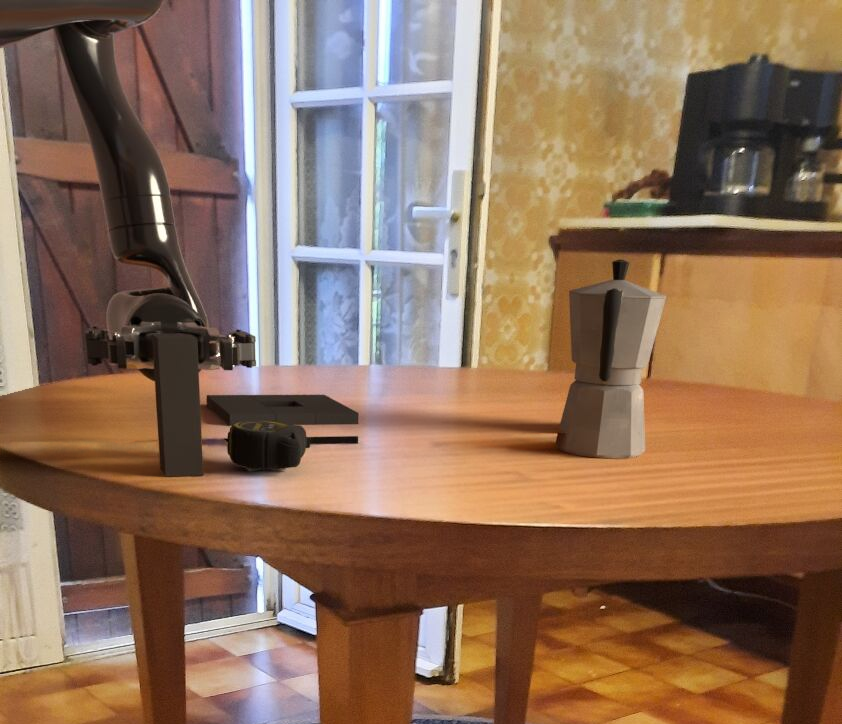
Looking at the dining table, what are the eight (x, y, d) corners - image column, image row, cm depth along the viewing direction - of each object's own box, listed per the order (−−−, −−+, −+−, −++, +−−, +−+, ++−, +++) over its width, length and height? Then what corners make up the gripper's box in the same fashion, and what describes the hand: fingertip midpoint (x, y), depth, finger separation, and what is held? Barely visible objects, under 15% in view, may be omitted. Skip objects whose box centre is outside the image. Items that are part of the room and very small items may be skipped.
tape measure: (300, 479, 91) (300, 434, 90) (220, 475, 92) (219, 429, 90) (310, 464, 98) (310, 421, 96) (236, 460, 98) (234, 417, 96)
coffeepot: (560, 436, 117) (577, 256, 109) (647, 443, 116) (671, 261, 108) (544, 461, 104) (563, 257, 96) (643, 469, 102) (670, 263, 94)
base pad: (230, 445, 104) (229, 414, 103) (207, 424, 115) (206, 395, 114) (358, 443, 108) (358, 412, 107) (324, 422, 119) (324, 394, 118)
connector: (165, 476, 90) (156, 337, 85) (160, 469, 93) (151, 333, 88) (203, 475, 91) (197, 338, 86) (197, 468, 94) (190, 334, 89)
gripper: (83, 292, 98) (80, 303, 84) (240, 297, 101) (262, 309, 87) (90, 378, 101) (89, 403, 87) (242, 380, 105) (264, 404, 91)
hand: (175, 356), depth 87 cm, fingers open, 8 cm apart
